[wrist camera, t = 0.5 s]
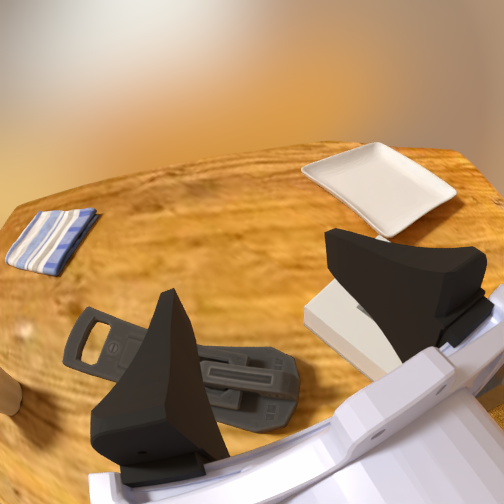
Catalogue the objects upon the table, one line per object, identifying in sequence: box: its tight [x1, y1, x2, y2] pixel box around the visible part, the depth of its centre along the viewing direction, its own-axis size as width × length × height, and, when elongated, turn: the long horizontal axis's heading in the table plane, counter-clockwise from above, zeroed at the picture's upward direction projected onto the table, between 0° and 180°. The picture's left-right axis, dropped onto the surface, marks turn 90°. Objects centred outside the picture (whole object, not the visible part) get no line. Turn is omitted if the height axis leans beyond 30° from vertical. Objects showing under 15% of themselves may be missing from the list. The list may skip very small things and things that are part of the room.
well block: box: [304, 235, 402, 382], centre depth 28 cm, size 16×14×4 cm
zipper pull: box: [63, 307, 300, 433], centre depth 26 cm, size 9×7×25 cm
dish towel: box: [5, 208, 99, 276], centre depth 49 cm, size 17×24×3 cm
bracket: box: [475, 363, 504, 411], centre depth 19 cm, size 6×5×8 cm
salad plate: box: [301, 142, 457, 238], centre depth 44 cm, size 21×21×3 cm
